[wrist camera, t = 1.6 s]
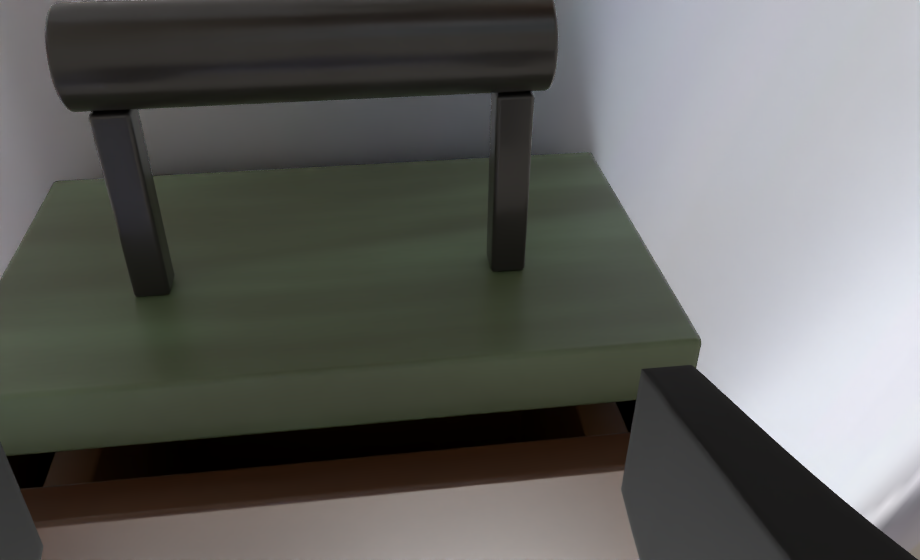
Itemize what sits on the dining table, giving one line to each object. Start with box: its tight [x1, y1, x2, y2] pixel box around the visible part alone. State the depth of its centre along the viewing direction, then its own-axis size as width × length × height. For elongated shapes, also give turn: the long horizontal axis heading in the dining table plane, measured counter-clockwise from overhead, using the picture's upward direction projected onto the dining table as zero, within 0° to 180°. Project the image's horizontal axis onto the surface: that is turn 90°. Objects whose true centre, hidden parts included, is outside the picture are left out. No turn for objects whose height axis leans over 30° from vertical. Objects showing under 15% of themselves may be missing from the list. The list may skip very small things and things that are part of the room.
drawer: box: [0, 0, 701, 487], centre depth 18 cm, size 18×11×7 cm, turn 179°
